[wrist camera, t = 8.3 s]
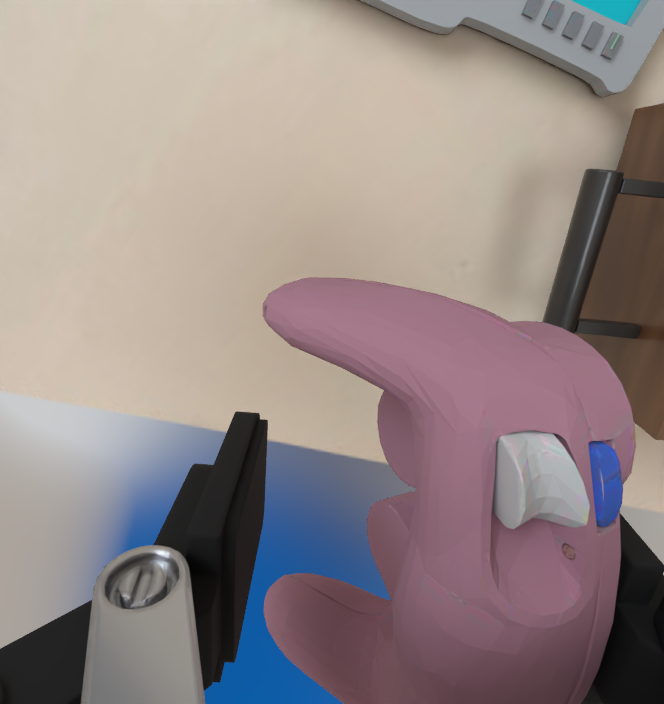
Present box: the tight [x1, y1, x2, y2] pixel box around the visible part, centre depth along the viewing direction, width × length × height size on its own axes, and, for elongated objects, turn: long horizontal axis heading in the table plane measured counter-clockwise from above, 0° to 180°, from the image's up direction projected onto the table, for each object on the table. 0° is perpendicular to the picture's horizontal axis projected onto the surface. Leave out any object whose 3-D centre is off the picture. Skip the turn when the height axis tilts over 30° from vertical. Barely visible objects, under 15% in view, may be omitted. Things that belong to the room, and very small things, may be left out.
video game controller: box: [263, 277, 636, 704], centre depth 9 cm, size 10×5×7 cm, turn 177°
